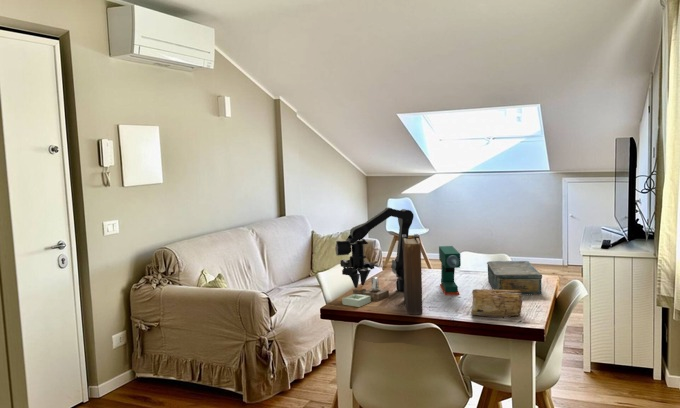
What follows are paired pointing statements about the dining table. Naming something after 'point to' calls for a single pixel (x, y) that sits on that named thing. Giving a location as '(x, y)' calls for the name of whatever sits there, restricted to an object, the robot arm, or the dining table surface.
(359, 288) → the button
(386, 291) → the block
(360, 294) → the button housing
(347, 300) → the block
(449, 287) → the power tool
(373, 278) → the steel pin
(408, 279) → the decorative book
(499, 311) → the petrified wood
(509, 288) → the metal box
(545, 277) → the dining table surface
